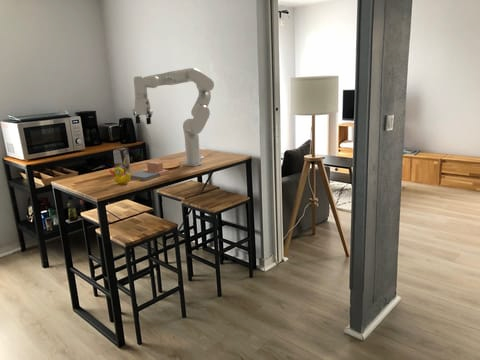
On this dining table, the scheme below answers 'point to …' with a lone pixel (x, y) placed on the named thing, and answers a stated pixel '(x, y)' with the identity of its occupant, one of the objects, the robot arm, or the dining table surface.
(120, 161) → the coffee box
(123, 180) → the duckling
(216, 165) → the dining table surface
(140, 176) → the ticket board
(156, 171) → the stub
